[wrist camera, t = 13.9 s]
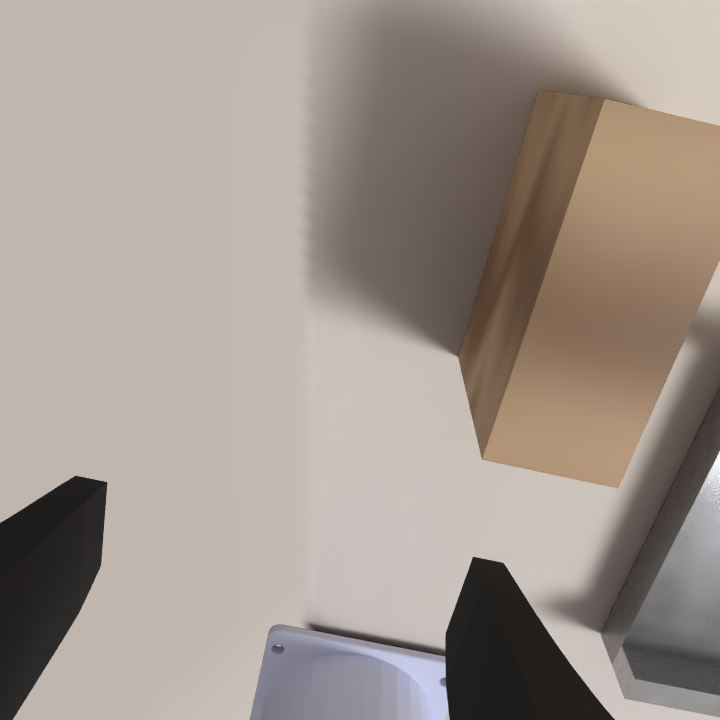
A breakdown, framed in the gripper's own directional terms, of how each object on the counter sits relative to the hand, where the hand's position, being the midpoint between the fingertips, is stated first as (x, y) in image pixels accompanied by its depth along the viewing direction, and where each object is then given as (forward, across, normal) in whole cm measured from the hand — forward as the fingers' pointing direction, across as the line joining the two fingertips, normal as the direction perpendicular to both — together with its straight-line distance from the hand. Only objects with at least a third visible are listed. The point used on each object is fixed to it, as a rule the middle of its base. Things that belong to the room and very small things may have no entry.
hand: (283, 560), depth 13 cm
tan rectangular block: (+10, -6, -5) cm, 13 cm away
